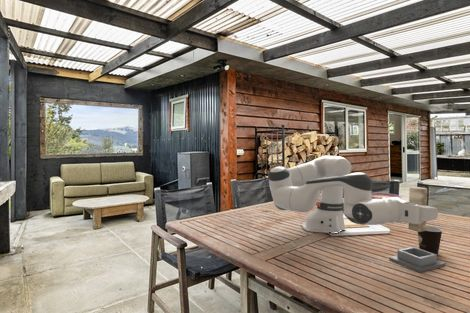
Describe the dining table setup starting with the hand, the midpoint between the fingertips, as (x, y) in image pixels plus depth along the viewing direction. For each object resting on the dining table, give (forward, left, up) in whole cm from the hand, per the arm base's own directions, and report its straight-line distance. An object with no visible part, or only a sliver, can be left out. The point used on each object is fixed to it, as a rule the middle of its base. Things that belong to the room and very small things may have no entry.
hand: (419, 206), depth 106 cm
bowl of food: (+20, +78, -22) cm, 83 cm away
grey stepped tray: (-1, 0, -22) cm, 22 cm away
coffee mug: (+11, +12, -22) cm, 27 cm away
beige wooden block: (-1, 0, -9) cm, 9 cm away
